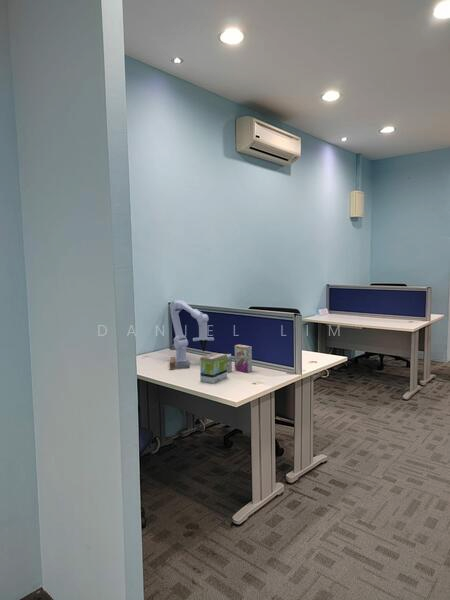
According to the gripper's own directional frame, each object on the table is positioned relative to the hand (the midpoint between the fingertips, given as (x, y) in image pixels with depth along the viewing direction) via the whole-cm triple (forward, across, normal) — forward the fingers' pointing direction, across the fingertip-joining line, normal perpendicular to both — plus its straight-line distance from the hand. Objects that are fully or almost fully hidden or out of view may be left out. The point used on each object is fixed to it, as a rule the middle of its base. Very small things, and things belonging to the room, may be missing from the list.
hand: (203, 351), depth 272 cm
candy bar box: (+10, +25, -21) cm, 34 cm away
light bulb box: (+10, +12, -20) cm, 25 cm away
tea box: (+10, +5, -38) cm, 40 cm away
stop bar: (+9, -22, -4) cm, 24 cm away
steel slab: (+10, -15, -5) cm, 19 cm away
